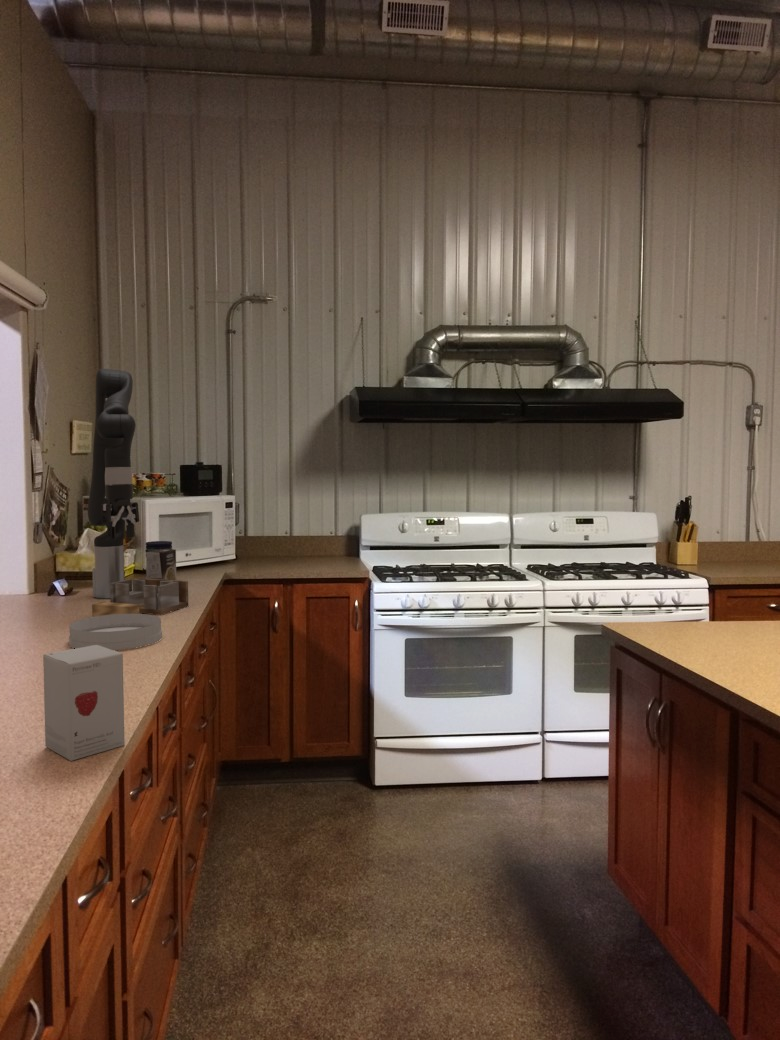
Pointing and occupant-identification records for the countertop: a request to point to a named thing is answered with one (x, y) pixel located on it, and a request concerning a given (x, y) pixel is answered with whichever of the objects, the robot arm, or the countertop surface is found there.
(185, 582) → the bracket board
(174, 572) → the coffee box
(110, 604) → the rail
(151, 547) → the storage jar
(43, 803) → the countertop surface
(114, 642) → the dish
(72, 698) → the supplement box
